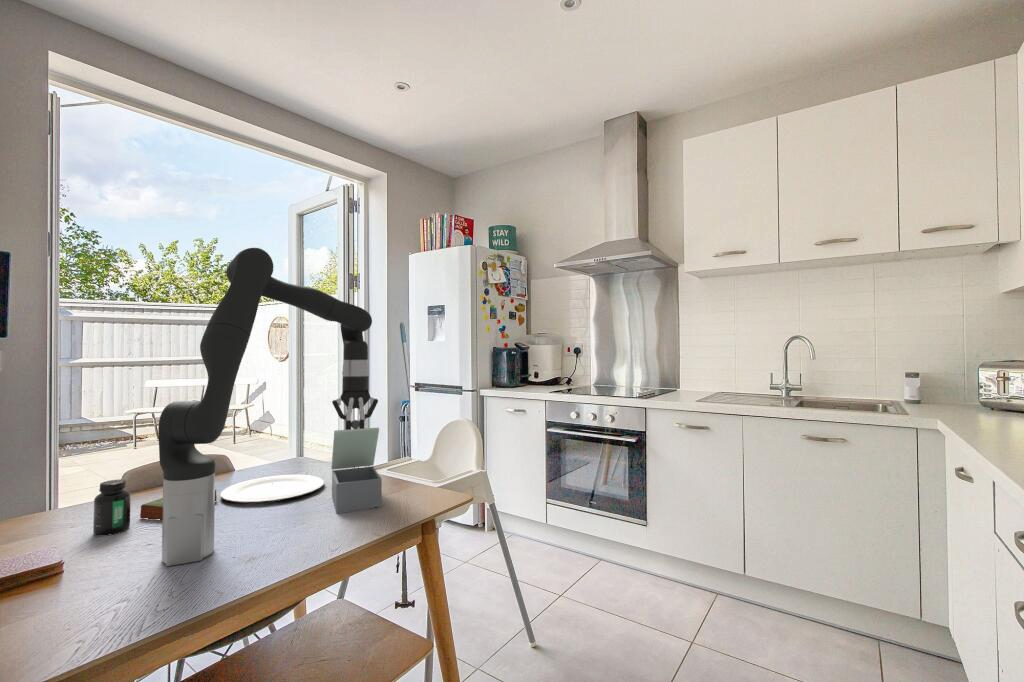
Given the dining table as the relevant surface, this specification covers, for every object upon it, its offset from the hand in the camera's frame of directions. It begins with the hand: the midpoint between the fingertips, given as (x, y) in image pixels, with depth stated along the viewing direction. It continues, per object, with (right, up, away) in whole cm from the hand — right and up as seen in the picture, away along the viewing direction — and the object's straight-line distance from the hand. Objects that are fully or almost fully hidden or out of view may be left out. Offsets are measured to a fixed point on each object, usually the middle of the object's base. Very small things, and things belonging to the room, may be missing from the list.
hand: (355, 432), depth 138 cm
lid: (0, -5, 0) cm, 5 cm away
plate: (-28, -21, +7) cm, 35 cm away
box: (+1, -20, -3) cm, 20 cm away
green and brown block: (-46, -20, -10) cm, 51 cm away
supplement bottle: (-51, -20, -25) cm, 60 cm away
